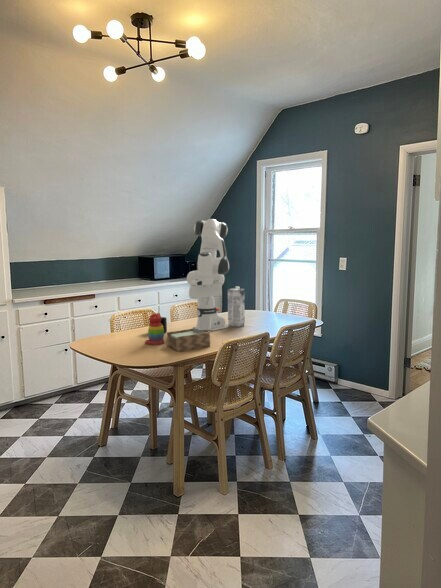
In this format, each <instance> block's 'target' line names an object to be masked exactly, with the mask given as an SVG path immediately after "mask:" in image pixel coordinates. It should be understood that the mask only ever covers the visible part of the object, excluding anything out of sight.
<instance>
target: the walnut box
mask: <svg viewBox="0 0 441 588" xmlns="http://www.w3.org/2000/svg"><path fill="white" fill-rule="evenodd" d="M189 331H193V328H188V329H181V330H174V331H169V332H168V331H167V332H166V345H167V348H169V349H171V350H174V351H175V352H177V353H182V352H186V351H192V350H199V349H203V348H209V347H211V332H210V331H208V332H205V331H203V333H199V334H193V335H187V336H180V337H177V339H175V338H173V337H171V334H176V333H183V332H189Z"/></svg>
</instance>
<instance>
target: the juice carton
mask: <svg viewBox="0 0 441 588" xmlns="http://www.w3.org/2000/svg"><path fill="white" fill-rule="evenodd" d="M245 297H246V295H245V288H241V287H240V286H235V287H233V288H227V323H228V324H227V325H229V327H234V328H240V327H242V326H243V327H244V326H245V319H246V315H245V312H246V310H245V307H246V306H245V303H246V302H245V301H246V300H245Z"/></svg>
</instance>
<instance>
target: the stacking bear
mask: <svg viewBox="0 0 441 588" xmlns="http://www.w3.org/2000/svg"><path fill="white" fill-rule="evenodd" d="M161 317H162V315H161V314H160V312H157V313H152V314H151V315H150V316H149V318H148V320H149V326H148V330H147V335H148V339H147V340H145V341H144V344H145V345H148V346H158V345H160V346H161V345H163V344H165V340H164V336H165V333H164V329H163V325H162V324H161V323H160V322H161ZM150 322H151V323H150Z"/></svg>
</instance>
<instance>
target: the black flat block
mask: <svg viewBox="0 0 441 588" xmlns="http://www.w3.org/2000/svg"><path fill="white" fill-rule="evenodd" d="M150 323H151V322H150V321H149V324H150ZM160 323H161V324H162V325H163V329H164V334H167V332H168V325H167V317H165V316H164V317H162V316H161V322H160Z"/></svg>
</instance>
